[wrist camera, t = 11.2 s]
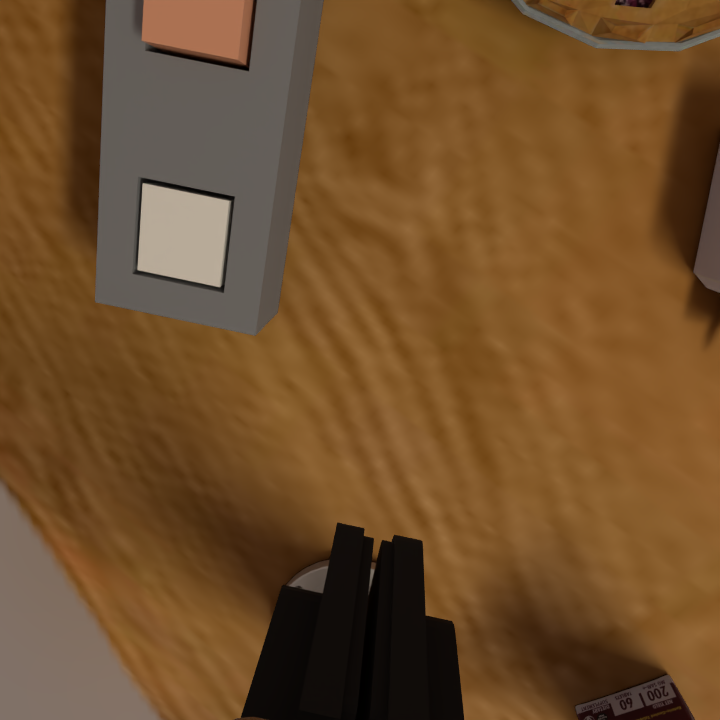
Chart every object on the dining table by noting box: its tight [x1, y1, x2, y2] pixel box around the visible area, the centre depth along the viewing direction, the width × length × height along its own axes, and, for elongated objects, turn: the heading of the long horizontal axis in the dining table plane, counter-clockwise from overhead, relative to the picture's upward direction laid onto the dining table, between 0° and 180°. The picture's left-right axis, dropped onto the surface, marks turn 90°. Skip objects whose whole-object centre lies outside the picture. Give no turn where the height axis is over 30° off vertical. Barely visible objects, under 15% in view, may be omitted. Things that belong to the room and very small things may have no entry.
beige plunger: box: [137, 183, 235, 287], centre depth 35 cm, size 5×5×6 cm
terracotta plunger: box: [142, 0, 257, 71], centre depth 30 cm, size 5×5×6 cm
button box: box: [95, 0, 324, 335], centre depth 33 cm, size 22×10×6 cm, turn 169°
